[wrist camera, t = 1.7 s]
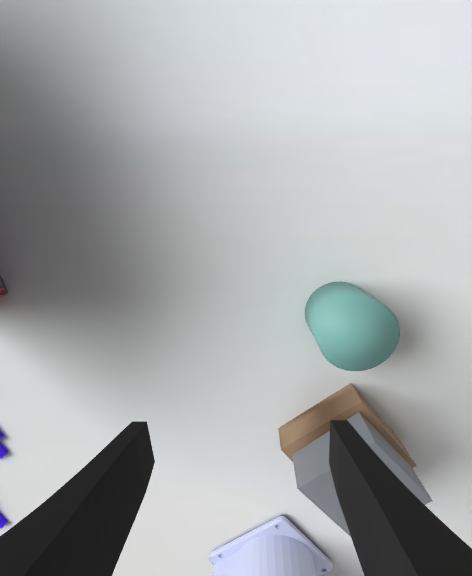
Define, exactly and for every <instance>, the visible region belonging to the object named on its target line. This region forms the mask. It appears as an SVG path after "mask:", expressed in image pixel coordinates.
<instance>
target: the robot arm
mask: <svg viewBox="0 0 472 576" xmlns="http://www.w3.org/2000/svg"><path fill="white" fill-rule="evenodd" d="M154 462H155V461H154V456H153V451H152V446H151V441H150V436H149V431H148V425H147V422H132V423H130V424H129V425H128V426H127V427H126V428H125V429H124V430H123V431H122V432H121V433H120V434H119V435H118V436H117V437H116V438H115V439H114V440H112V441H111V442H110V443H109V444H108V445H107V446H106V447H105V448H104V449H103V450H102V451H101V452H100V453H99V454H98V455H97V456H96V457H95V458H94V459H92V460H91V461H90V462H89V463H88V464H87V465H86V466H85V467H84V468H83V469H82V470H81V471H79V472H78V473H77V474H76V475H75V476H74V477H73V478H72V479H70V480H69V481H68V482H67V483H66V484H65V485H64V486H62V487H61V488H60V489H59V490H58V491H57V492H56V493H54V494H53V495H52V496H51V497H50V498H49V499H47V500H46V501H45V502H44V503H43V504H41V505H40V506H39V507H38V508H36V509H35V510H34V511H33V512H31V513H30V514H29V515H28V516H26V517H25V518H24V519H22V520H21V521H20V522H19V523H17V524H16V525H15V526H14V527H12V528H11V529H10V530H8V531H7V532H6V533H4V534H3V535H1V536H0V576H112V574H113V571H114V569H115V566H116V564H117V561H118V559H119V556H120V554H121V552H122V549H123V547H124V544H125V542H126V539H127V537H128V535H129V532H130V530H131V527H132V525H133V522H134V520H135V518H136V515H137V513H138V510H139V508H140V505H141V503H142V500H143V498H144V495H145V493H146V490H147V486H148V483H149V480H150V477H151V473H152V469H153V466H154ZM329 465H330V469H331V474H332V478H333V482H334V486H335V490H336V494H337V497H338V500H339V503H340V506H341V509H342V512H343V515H344V518H345V521H346V523H347V526H348V529H349V532H350V535H351V538H352V541H353V544H354V546H355V549H356V552H357V555H358V558H359V561H360V564H361V567H362V570H363V572H364V575H365V576H472V549H471V548H470V547H469V546H468V545H467V544H466V543H465V542H463V541H462V540H461V539H460V538H459V537H458V536H457V535H456V534H455V533H454V532H453V531H451V530H450V529H449V528H448V527H447V526H446V525H445V524H444V523H443V522H442V521H441V520H440V519H438V518H437V517H436V516H435V515H434V514H433V513H432V512H431V511H430V510H429V509H428V508H427V507H426V506H425V505H424V504H423V503H422V502H421V501H420V500H419V499H418V498H417V497H416V496H415V495H414V494H413V493H412V492H411V491H410V490H409V489H408V488H407V487H406V486H405V485H404V484H403V483H402V482H401V481H400V480H399V478H398V477H397V476H396V475H395V474H394V473H393V472H392V471H391V470H390V469H389V468H388V467H387V465H386V464H385V463H384V462H383V461H382V460H381V459H380V458H379V457H378V456H377V454H376V453H375V452H374V451H373V450H372V449H371V448H370V446H369V445H368V444H367V443H366V442H365V441H364V439H363V438H362V437H361V436H360V435H359V433H358V432H357V431H356V430H355V429H354V427H353V426H352V425H351V424H350V423H349V422H348V421H347V420H330V443H329ZM208 559H209V561H210V562H211V563H212V564H213V565H214V568H213V576H321V575H323V574H326V573H328V572H330V571H332V570H333V563H332V562H331V561H330V560H329V559H328V558H327V557H326V556H325V555H324V554H323V553H322V552H321V551H320V550H319V549H318V548H317V547H316V546H315V545H314V544H313V543H312V542H311V541H310V540H309V539H308V538H307V537H306V536H305V535H304V534H302V533H301V532H300V531H299V530H298V529H297V528H296V527H295V526H294V525H293V524H292V523H291V522H290V521H289V520H288V519H287V518H286V517H284V516H279V517H277V518H275V519H273V520H271V521H269V522H267V523H265V524H264V525H262V526H260V527H258V528H256V529H254V530H252V531H250V532H248V533H246V534H245V535H243V536H241V537H239V538H237V539H235V540H233V541H231V542H229V543H227V544H226V545H224V546H222V547H220V548H218V549H216V550H214V551H212V552H211V553H209V558H208Z"/></svg>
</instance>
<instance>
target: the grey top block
mask: <svg viewBox="0 0 472 576" xmlns="http://www.w3.org/2000/svg"><path fill="white" fill-rule="evenodd" d="M347 421H348V422H349V423H350V424H351V425H352V426H353V427H354V429H355V430H356V431H357V432H358V433H359V435H360V436H361V437H362V438H363V439H364V441H365V442H366V443H367V444H368V445H369V446H370V448H371V449H372V450H373V451H374V452H375V453H376V454H377V456H378V457H379V458H380V459H381V460H382V461H383V462H384V463H385V464H386V465H387V467H388V468H389V469H390V470H391V471H392V472H393V473H394V474H395V475H396V476H397V477H398V478H399V480H400V481H401V482H402V483H403V484H404V485H405V486H406V487H407V488H408V489H409V490H410V491H411V492H412V493H413V494H414V495H415V496H416V497H417V498H418V499H419V500H420V501H421V502H422V503H423V504H424V505H425V504H427V503H429V502H431V501H432V499H431V498H430V496H429V494H428V493H427V491H426V490H425V488H424V486H423V485H422V483H421V482H420V480H419V478H418V477H417V475H416V474H415V472H414V470H413V469H412V467H411V466H410V464H409V463H408V462H407V461H406V460H405V459H404V458H403V457H402V456H401V455H400V454H399V453H398V452H397V451H396V449H395V448H394V447H393V446H392V445H391V444H390V443H389V442H388V441H387V440H386V439H385V438H384V437H383V436H382V435H381V434H380V433H379V432H378V431H377V430H376V429H375V428H374V427H373V426H372V425H371V424H370V423H369V422H368V420H367V419H366V418H365V417H364V416H363V415H362V414H361V413H360V412H358V413H356V414H355V415H353V416H352V417H350V418H349V419H347ZM329 443H330V431H328V432H327V433H325V434H323V435H322V436H320V437H319V438H317V439H315V440H314V441H312V442H311V443H309V444H308V445H306V446H304V447H303V448H301V449H300V450H298V451H297V452H295V453H293V454H292V456H293V462H294V468H295V475H296V481H297V488H298V489H299V490H300V491H301V492H302V493H303V494H304V495H305V496H306V497H308V498H309V499H310V500H311V501H312V502H313V503H314V504H315V505H316V506H317V507H319V508H320V509H321V510H322V511H323V512H324V513H325V514H326V515H327V516H328V517H330V518H331V519H332V520H333V521H334V522H335V523H336V524H337V525H338V526H340V527H341V528H342V529H343V530H344V531H345V532H346V533H347V534H348V535H349V536H351V535H350V532H349V529H348V526H347V523H346V521H345V518H344V515H343V512H342V509H341V506H340V503H339V500H338V497H337V494H336V490H335V486H334V482H333V478H332V474H331V469H330V465H329Z"/></svg>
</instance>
